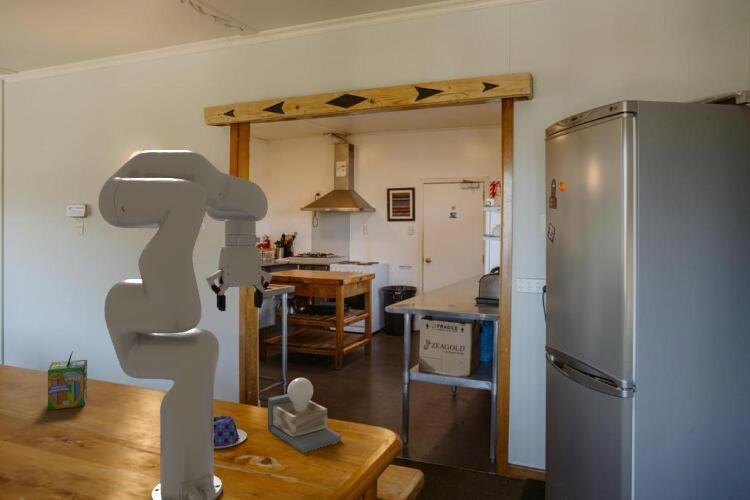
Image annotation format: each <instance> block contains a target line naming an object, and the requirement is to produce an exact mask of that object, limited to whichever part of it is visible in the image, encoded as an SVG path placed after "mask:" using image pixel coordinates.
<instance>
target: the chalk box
mask: <svg viewBox="0 0 750 500" xmlns="http://www.w3.org/2000/svg"><path fill="white" fill-rule="evenodd" d="M73 352H74V351H71V353H70V355H69V358H68V360H65V361H64V360H63V361H52V362H51V364H50V366H49V367H48V370H47V411H52V410H60V409H61V410H62V409H69V408H79V407H84V406H86V401H87V397H88V395H87V392H88V391H87V387H88V386H87V379H88V378H87V377H88V360H87V359H82V360H81V359H80V360H72V356H73Z"/></svg>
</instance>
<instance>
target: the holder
mask: <svg viewBox="0 0 750 500" xmlns="http://www.w3.org/2000/svg"><path fill="white" fill-rule="evenodd" d="M273 425H275V426H276V427H278V428H279V429H281V430H282V431H284V432H286V433H287V434H289V435H290V436H292V437H295V436H299V435H303V434H306V433H310V432H314V431H317V430H321V429H325V428H328V408H326V407H324V406H322V405H320V404H318V403H316V402H314V401H312V400H311V399H310V400H309V402H308V404H307V408H306V413H302V414H298V415H295V410H294V407H293V403H292V402H288V403H284V404H279V405H275V406H273Z"/></svg>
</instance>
